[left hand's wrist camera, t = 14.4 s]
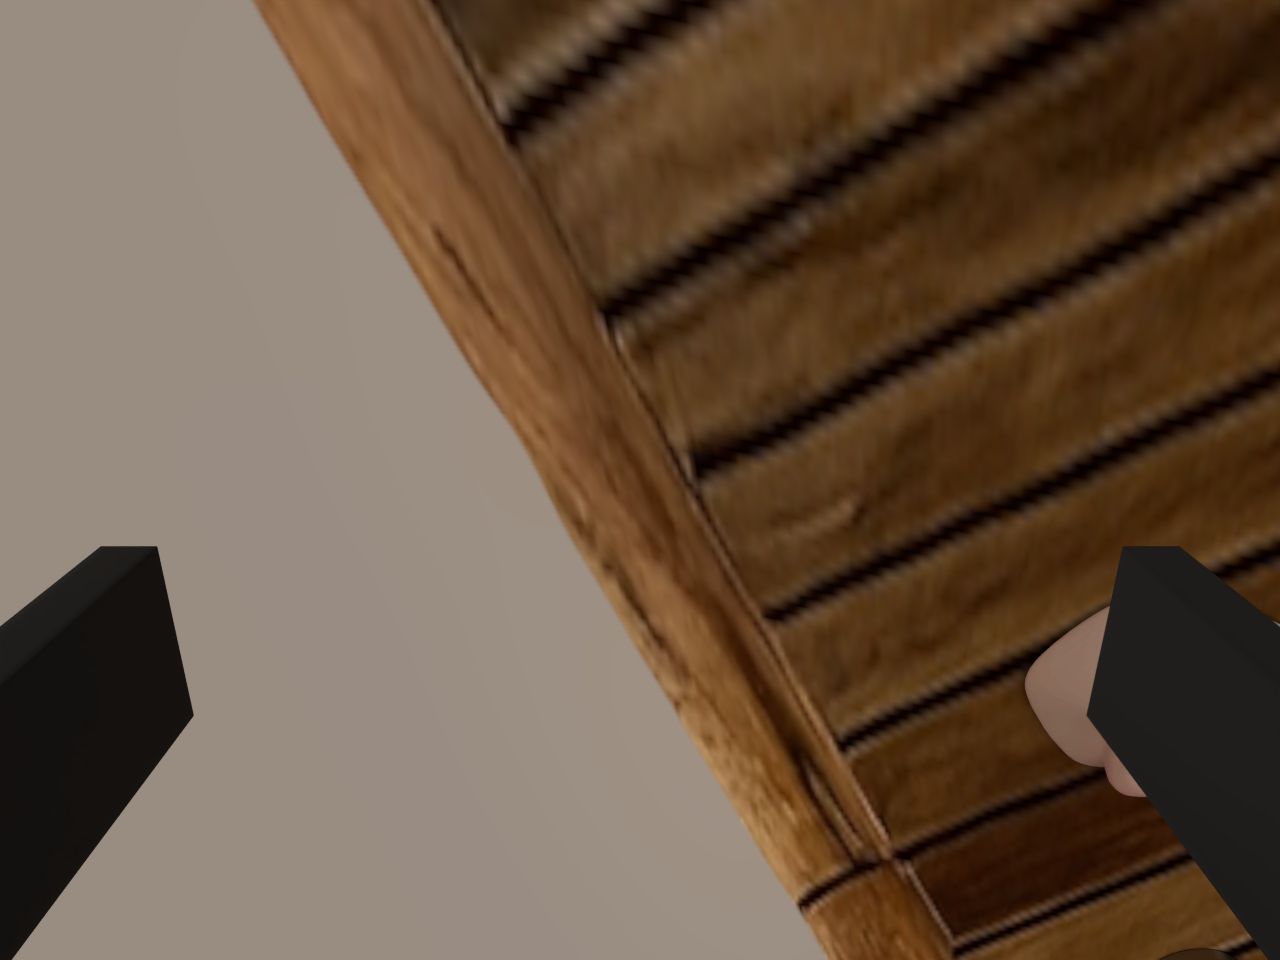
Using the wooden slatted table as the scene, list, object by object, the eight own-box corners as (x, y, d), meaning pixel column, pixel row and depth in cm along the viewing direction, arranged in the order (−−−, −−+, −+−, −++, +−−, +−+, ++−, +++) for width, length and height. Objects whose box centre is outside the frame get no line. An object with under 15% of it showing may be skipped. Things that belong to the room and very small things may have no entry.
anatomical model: (1017, 763, 44) (1183, 578, 40) (988, 713, 47) (1137, 539, 44) (1225, 871, 46) (1399, 705, 42) (1181, 815, 50) (1339, 658, 46)
